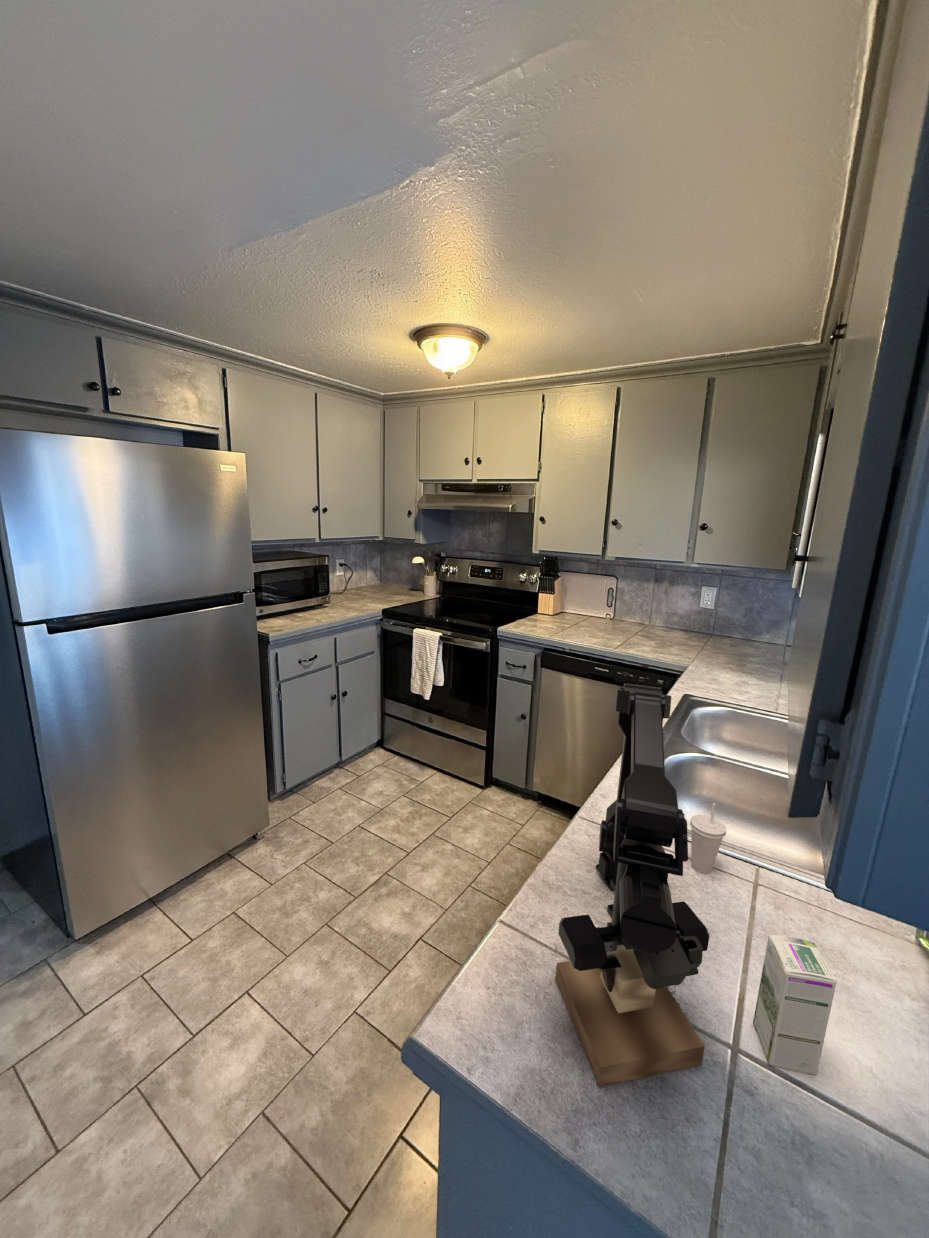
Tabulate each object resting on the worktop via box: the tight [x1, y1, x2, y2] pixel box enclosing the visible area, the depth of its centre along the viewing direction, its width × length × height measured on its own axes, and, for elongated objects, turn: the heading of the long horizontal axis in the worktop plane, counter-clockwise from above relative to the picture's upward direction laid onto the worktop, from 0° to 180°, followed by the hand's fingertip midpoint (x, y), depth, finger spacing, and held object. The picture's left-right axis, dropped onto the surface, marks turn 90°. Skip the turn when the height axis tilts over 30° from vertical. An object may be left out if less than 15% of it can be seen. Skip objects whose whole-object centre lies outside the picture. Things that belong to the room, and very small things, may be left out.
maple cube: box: [600, 947, 656, 1013], centre depth 65 cm, size 5×5×5 cm
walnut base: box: [554, 960, 706, 1088], centre depth 66 cm, size 14×14×3 cm
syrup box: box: [752, 934, 837, 1076], centre depth 62 cm, size 6×6×14 cm
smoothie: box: [689, 802, 727, 875], centre depth 95 cm, size 6×6×14 cm
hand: (626, 985), depth 65 cm, fingers closed on maple cube, 5 cm apart
